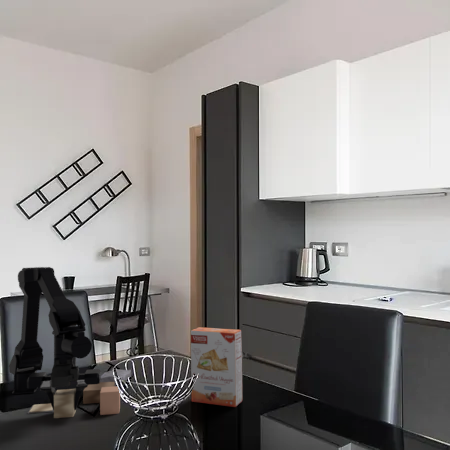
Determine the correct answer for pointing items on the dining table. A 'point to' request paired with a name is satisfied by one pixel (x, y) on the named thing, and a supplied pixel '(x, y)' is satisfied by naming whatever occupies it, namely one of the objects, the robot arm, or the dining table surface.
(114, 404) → the terracotta block
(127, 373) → the stone block
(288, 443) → the dining table surface
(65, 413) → the oak block
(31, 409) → the tile
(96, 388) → the walnut base block
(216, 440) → the dining table surface
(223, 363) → the cracker box
